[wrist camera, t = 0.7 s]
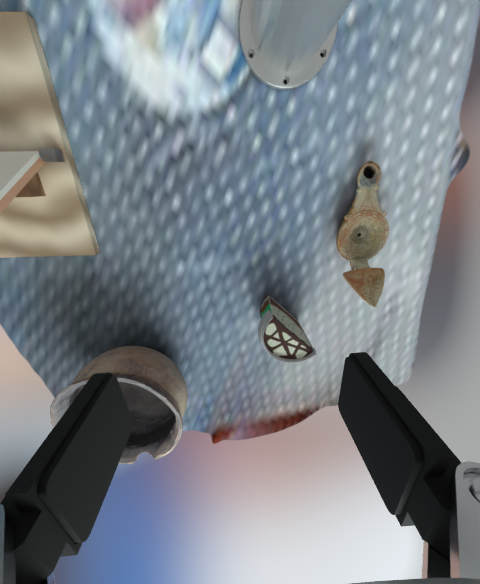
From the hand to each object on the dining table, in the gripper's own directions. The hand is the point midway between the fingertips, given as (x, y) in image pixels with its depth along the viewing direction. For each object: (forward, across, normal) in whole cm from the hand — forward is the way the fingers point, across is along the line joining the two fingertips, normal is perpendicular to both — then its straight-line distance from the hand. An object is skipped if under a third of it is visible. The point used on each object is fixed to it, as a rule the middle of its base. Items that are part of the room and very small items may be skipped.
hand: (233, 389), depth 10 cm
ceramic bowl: (+36, +22, +29) cm, 51 cm away
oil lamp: (+35, -22, +1) cm, 42 cm away
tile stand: (+35, +33, -14) cm, 50 cm away
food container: (+36, -8, +18) cm, 41 cm away
